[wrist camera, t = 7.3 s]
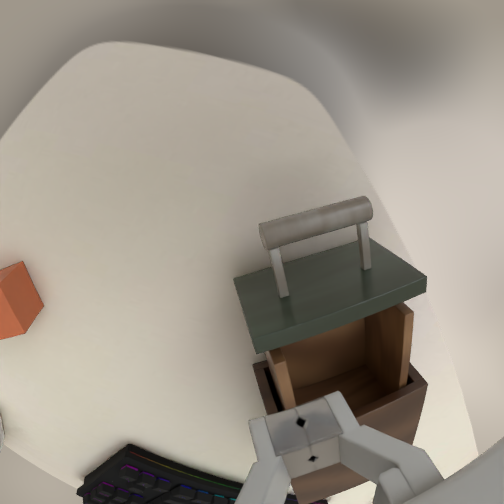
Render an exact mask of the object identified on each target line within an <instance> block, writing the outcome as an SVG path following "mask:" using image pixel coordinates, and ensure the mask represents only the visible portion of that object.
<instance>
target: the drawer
mask: <svg viewBox="0 0 504 504" xmlns="http://www.w3.org/2000/svg"><path fill="white" fill-rule="evenodd" d="M372 217H373V209H372V205H371V203H370V201H369V199H368V198H367V197H365V196H361V197H357V198H353V199H350V200H346V201H342V202H338V203H334V204H331V205H327V206H323V207H319V208H316V209H312V210H308V211H304V212H301V213H297V214H293V215H290V216H286V217H282V218H279V219H275V220H272V221H268V222H264V223H261V224H259V232H260V236H261V239H262V243H263V245H264V247H265V249H266V250H268V251H269V255H270V260H271V264H272V267H270V268H267V269H264V270H260V271H257V272H253V273H250V274H247V275H243V276H240V277H236V278H233V280H234V284H235V287H236V290H237V294H238V297H239V300H240V304H241V307H242V310H243V313H244V317H245V320H246V323H247V326H248V330H249V333H250V336H251V339H252V343H253V346H254V349H255V352H256V354H260V353H263V352H265V355H266V358H267V362H268V365H269V369H270V372H271V376H272V379H273V383H274V386H275V390H276V393H277V396H278V399H279V402H280V405H281V408H282V410H283V411H284V410H287V409H291V408H294V407H295V406H298V405H301V404H303V403H306V402H309V401H312V400H314V399H317V398H320V397H322V396H323V397H324V396H326V395H328V394H331V393H334V392H336V391H339V392H341V394H342V396H343V397H344V399H345V401H346V403H347V404H348V406H349V408H350V410H351V411H352V410H355V409H357V408H359V407H362V406H364V405H366V404H369V403H371V402H373V401H376V400H378V399H380V398H382V397H384V396H386V395H389V394H391V393H393V392H395V391H397V390H399V389H401V388H403V387H405V386H406V385H407V377H408V370H409V362H410V353H411V343H412V332H413V318H414V312H413V311H412V310H411V309H410V308H409V307H408V306H407V305H406V304H404V303H403V302H404V301H406V300H409V299H411V298H413V297H416V296H418V295H420V294H422V293H425V292H426V286H427V285H426V284H427V276H425V275H424V274H423V273H421V272H420V271H418V270H417V269H416V268H414V267H413V266H411V265H410V264H408V263H407V262H405V261H404V260H402V259H401V258H399V257H398V256H397V255H395V254H394V253H392V252H391V251H389V250H388V249H386V248H385V247H383V246H381V245H380V244H378V243H377V242H375V241H374V240H372V239H371V238H369V233H368V223H367V221H369V220H371V219H372ZM355 224H356V226H357V235H358V241H356V242H353V243H349V244H346V245H343V246H340V247H336V248H333V249H330V250H327V251H323V252H320V253H317V254H314V255H310V256H307V257H304V258H300V259H297V260H294V261H290V262H287V263H284V264H283V263H282V259H281V254H280V249H279V247H280V246H283V245H287V244H290V243H293V242H297V241H300V240H304V239H307V238H311V237H314V236H318V235H321V234H324V233H328V232H331V231H335V230H338V229H342V228H345V227H348V226H352V225H355Z"/></svg>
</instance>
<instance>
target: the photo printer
mask: <svg viewBox="0 0 504 504" xmlns="http://www.w3.org/2000/svg"><path fill="white" fill-rule="evenodd" d="M3 443H4V430H3V425H2V420H1V415H0V452H1V448H2V446H3Z"/></svg>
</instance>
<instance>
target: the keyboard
mask: <svg viewBox="0 0 504 504" xmlns="http://www.w3.org/2000/svg"><path fill="white" fill-rule="evenodd" d="M243 485H244V484H241V483H238V482H234V481H230V480H227V479H223V478H220V477H217V476H213V475H210V474H207V473H204V472H201V471H198V470H195V469H192V468H189V467H186V466H183V465H181V464H178V463H175V462H173V461H170V460H167V459H165V458H162V457H160V456H157V455H155V454H153V453H150V452H148V451H145V450H143V449H141V448H139V447H136V446H134V445H132V444H128V445H127V446H125V447H124V448H123V449H122V450H120V451H119V452H118V453H116V454H115V455H114V456H112V457H111V458H110V459H109V460H107V461H106V462H105V463H103V464H102V465H101V466H99V467H98V468H97V469H95V470H94V471H93V472H91V473H90V474H89V475H87V476H86V477H85V479H84V484H83V485H82V486H81V487H79V488H78V489H77V493H76V494H77V495H79V496H81V497H83V504H234V503H235V501H236V499H237V497H238V495H239V493H240V491H241V489H242V487H243ZM284 504H299V503H298V500H297V498H296V495H291V494H287V496H286V499H285V502H284ZM309 504H328V503H327V500H324V499H321V500H318V501H315V502H312V503H309Z"/></svg>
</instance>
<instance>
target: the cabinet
mask: <svg viewBox="0 0 504 504" xmlns="http://www.w3.org/2000/svg"><path fill="white" fill-rule="evenodd" d="M253 369H254V372H255V376H256V379H257V383H258V386H259V389H260V393H261V396H262V399H263V403H264V406H265V409H266V413H267V415H270V414H274V413H277V412H281V411H283V410H282V408H281V405H280V402H279V399H278V396H277V393H276V390H275V386H274V383H273V379H272V376H271V372H270V369H269V365H268V362H267V361H263V362H260V363H257V364H253ZM427 386H428V383H427V382H426V381H425V380H424V378H422V376H421V375H420V374H419V372H418V371H417V370H416V369H415V368H414V367H413V366H412V364H411V363H410V362H409V370H408V377H407V385H406V386H405V387H403V388H401V389H399V390H397V391H395V392H393V393H391V394H389V395H386V396H384V397H382V398H380V399H378V400H376V401H373V402H371V403H369V404H366V405H364V406H362V407H359V408H357V409H355V410H352V413H353V415H354V417H355V418H356V420H357V422H358V424H359V425H360V426H362V425H366V426H368V427H370V428H373V429H375V430H377V431H380V432H382V433H384V434H386V435H389V436H391V437H393V438H396V439H398V440H401V441H403V442H406V443H408V444H410V445H412V444H413V441H414V437H415V434H416V431H417V427H418V423H419V420H420V416H421V412H422V408H423V404H424V400H425V395H426V391H427ZM367 481H370V480H368V479H367V478H365V477H363V476H361V475H360V474H358V473H356V472H355V471H353V470H352V469H350V468H348V467H347V466H345V465H343V464H342V463H341V462H339V463H336V464H333V465H330V466H328V467H325V468H322V469H319V470H316V471H313V472H310V473H307V474H304V475H302V476H299V477H296V478H293V479H291V485H292V488H293V490H294V493H295V495H296V498H297V500H298V503H299V504H309V503H312V502H315V501H318V500H321V499H324V498H327V497H329V496H332V495H335V494H338V493H340V492H343V491H346V490H348V489H351V488H353V487H356V486H358V485H360V484H363V483H365V482H367Z"/></svg>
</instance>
